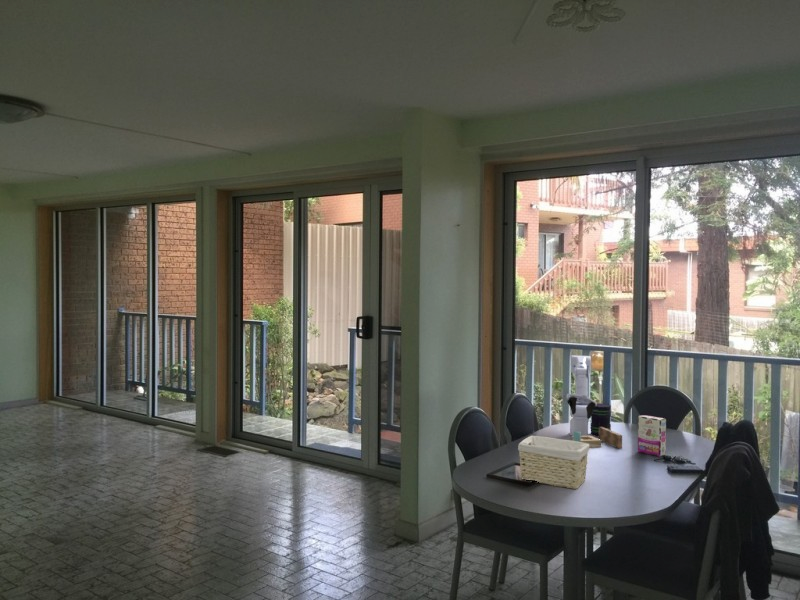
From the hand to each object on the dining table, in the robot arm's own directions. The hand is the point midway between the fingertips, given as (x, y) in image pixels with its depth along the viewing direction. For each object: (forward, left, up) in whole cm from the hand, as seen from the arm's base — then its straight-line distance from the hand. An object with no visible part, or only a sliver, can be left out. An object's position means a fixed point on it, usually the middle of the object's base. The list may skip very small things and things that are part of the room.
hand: (581, 415), depth 293 cm
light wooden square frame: (-4, +5, -15) cm, 16 cm away
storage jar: (-22, +22, -15) cm, 35 cm away
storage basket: (+46, -35, -15) cm, 59 cm away
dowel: (+4, -4, -15) cm, 16 cm away
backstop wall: (-4, +17, -15) cm, 23 cm away
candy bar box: (+16, +26, -15) cm, 34 cm away
